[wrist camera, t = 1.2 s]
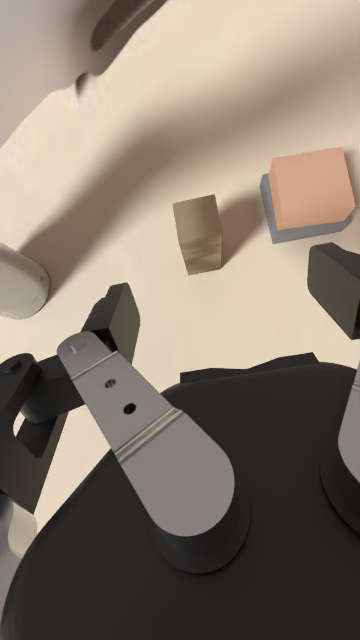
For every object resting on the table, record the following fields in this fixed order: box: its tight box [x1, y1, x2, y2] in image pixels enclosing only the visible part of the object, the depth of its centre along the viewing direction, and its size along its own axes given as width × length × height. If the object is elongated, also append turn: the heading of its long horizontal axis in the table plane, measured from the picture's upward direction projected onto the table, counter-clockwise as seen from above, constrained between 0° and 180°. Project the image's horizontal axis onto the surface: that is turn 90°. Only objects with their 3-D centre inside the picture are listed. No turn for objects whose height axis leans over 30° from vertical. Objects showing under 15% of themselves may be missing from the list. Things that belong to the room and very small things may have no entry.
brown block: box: [173, 194, 222, 275], centre depth 32 cm, size 4×4×10 cm
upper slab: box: [268, 147, 356, 230], centre depth 32 cm, size 8×8×3 cm
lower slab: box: [260, 174, 350, 244], centre depth 35 cm, size 9×9×3 cm
